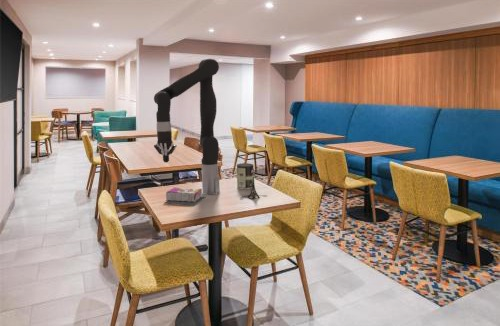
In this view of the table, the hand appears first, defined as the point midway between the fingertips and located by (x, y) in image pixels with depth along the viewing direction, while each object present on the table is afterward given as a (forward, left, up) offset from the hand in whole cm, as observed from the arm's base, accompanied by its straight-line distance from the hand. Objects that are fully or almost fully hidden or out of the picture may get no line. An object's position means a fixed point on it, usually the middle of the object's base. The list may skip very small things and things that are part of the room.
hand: (166, 162), depth 201 cm
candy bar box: (-1, 0, -18) cm, 18 cm away
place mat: (-11, 0, -21) cm, 23 cm away
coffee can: (-34, -35, -21) cm, 53 cm away
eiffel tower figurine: (-45, -14, -21) cm, 52 cm away
